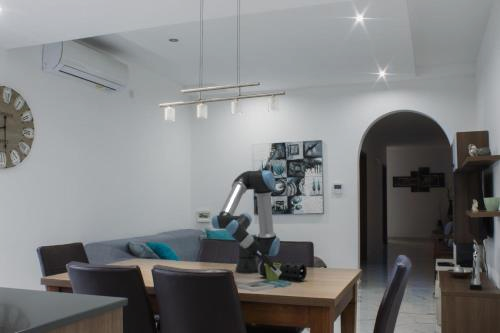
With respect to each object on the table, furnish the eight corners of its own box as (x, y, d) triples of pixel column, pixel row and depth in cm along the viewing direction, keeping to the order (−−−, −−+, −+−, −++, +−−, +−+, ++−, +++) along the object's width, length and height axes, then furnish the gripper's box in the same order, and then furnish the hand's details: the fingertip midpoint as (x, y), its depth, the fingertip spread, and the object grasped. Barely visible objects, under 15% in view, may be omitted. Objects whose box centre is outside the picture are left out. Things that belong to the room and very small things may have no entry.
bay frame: (234, 286, 267) (234, 284, 267) (270, 281, 285) (270, 278, 285) (257, 291, 254) (257, 288, 254) (293, 285, 271) (293, 282, 271)
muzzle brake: (298, 283, 279) (298, 264, 279) (257, 278, 295) (256, 260, 295) (307, 280, 286) (307, 262, 287) (265, 276, 302) (265, 259, 303)
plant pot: (285, 280, 273) (284, 264, 274) (272, 282, 267) (272, 265, 267) (273, 278, 280) (272, 262, 281) (260, 280, 274) (260, 264, 274)
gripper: (242, 246, 284) (270, 274, 285) (247, 251, 262) (277, 281, 263) (251, 237, 285) (279, 265, 286) (257, 240, 263) (287, 270, 264)
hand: (278, 272), depth 274 cm, fingers closed on plant pot, 9 cm apart
